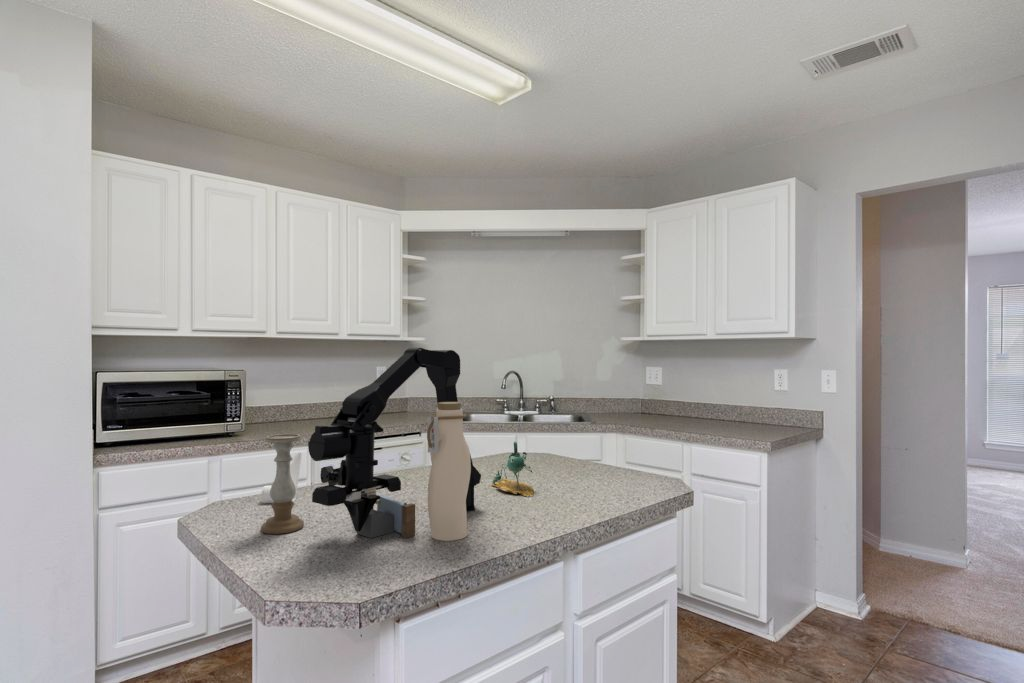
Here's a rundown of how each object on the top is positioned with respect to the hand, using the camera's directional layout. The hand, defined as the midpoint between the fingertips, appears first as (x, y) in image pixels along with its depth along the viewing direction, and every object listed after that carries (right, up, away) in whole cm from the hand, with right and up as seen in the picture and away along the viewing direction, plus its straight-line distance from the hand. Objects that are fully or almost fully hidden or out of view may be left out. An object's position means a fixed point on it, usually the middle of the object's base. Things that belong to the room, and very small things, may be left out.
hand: (357, 531), depth 115 cm
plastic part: (-29, -3, +32) cm, 43 cm away
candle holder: (-19, -2, +7) cm, 20 cm away
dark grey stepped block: (+3, -2, +4) cm, 5 cm away
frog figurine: (+33, -3, +42) cm, 53 cm away
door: (+5, -2, +7) cm, 9 cm away
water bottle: (+18, -2, +2) cm, 19 cm away
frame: (+5, -2, +6) cm, 8 cm away
